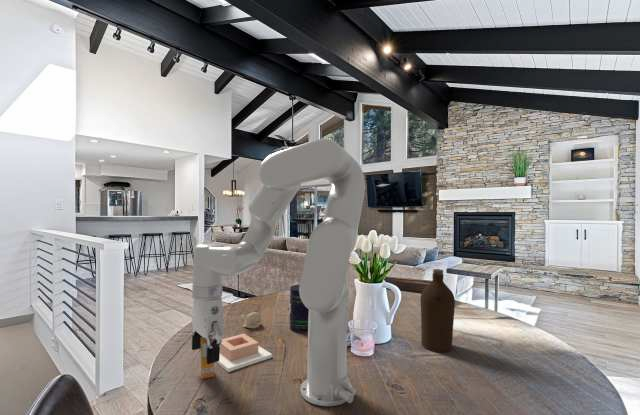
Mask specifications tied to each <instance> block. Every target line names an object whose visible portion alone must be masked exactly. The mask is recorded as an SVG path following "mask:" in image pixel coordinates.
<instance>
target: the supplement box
mask: <svg viewBox="0 0 640 415" xmlns="http://www.w3.org/2000/svg"><path fill="white" fill-rule="evenodd" d="M213 340H214V338H211V342H213ZM207 348H209V346H208V342H207V339H206V338H204V337H201V348H200V376H201V379H202V380H203V379H210V378H214V377H215V362H214V363H211V364H207Z"/></svg>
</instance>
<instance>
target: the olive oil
mask: <svg viewBox="0 0 640 415" xmlns="http://www.w3.org/2000/svg"><path fill="white" fill-rule="evenodd" d="M455 306H456V299H455V296H454V293H453V292H452V290H451V289H450V288H449V287H448V285H447V284H446V283H445V282H444V270H443V269H441V268H440V269H439V268H434V269H432V280H431V282H430V283H429V284H427V285H426V286H425V287H424V289H423V290H422V291H421V295H420V319H421V320H420V322H421V324H420V330H421V346H422V347H423V348H425V349H427V351H432V352H435V353H448V352H450V351H451V350H452V349H453V339H454V338H453V335H454V319H455Z"/></svg>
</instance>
